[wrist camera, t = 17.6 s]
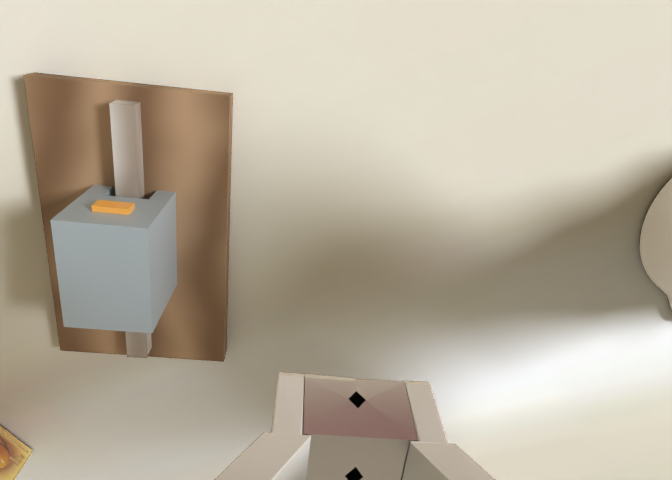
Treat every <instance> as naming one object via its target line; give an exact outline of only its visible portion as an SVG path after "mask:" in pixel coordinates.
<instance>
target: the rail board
mask: <svg viewBox="0 0 672 480" xmlns="http://www.w3.org/2000/svg"><path fill="white" fill-rule="evenodd" d="M23 76H24V83H25V90H26V98H27V105H28V113H29V120H30V128H31V135H32V142H33V150H34V157H35V165H36V172H37V180H38V187H39V195H40V202H41V209H42V217H43V224H44V232H45V239H46V247H47V254H48V262H49V269H50V276H51V284H52V291H53V299H54V306H55V314H56V321H57V328H58V336H59V343H60V350H63V351H78V352H92V353H107V354H122V355H127V357H140V358H147V356H151V357H166V358H180V359H195V360H210V361H224V358H225V354H226V344H227V304H228V265H229V225H230V185H231V145H232V105H233V93H225V92H216V91H206V90H196V89H187V88H177V87H168V86H158V85H149V84H139V83H129V82H120V81H110V80H101V79H91V78H82V77H72V76H62V75H53V74H43V73H31V74H26V75H23ZM93 185H104V186H113V188H114V196H117V197H128V198H139V199H150V198H151V196H152V195H153V194H154V193H155V192H156V191H157V190H158V191H169V192H176V242H177V286H176V288H175V290H174V291H173V293H172V295H171V297H170V299H169V301H168V303H167V305H166V307H165V309H164V311H163V313H162V315H161V317H160V319H159V321H158V323H157V325H156V327H155V329H154V331H153V333H141V332H127V331H113V330H100V329H86V328H72V327H64V325H63V317H62V309H61V301H60V293H59V285H58V277H57V269H56V261H55V253H54V245H53V237H52V229H51V222H50V220H51V219H52V218H53V217H55V216H56V215H57V214H58V213H60V212H61V211H62V210H63V209H65V208H66V207H67V206H68V205H70V204H71V203H72V202H73V201H75V200H76V199H77V198H78V197H79V196H81V195H82V194H83V193H84V192H86V191H87V190H88V189H89V188H91V187H92V186H93Z"/></svg>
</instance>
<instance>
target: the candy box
mask: <svg viewBox="0 0 672 480" xmlns="http://www.w3.org/2000/svg"><path fill="white" fill-rule="evenodd" d="M31 453H32V450H31V449H30V448H29V447H27V446H26V445H25V444H24V443H22V442H21V441H20V440H18V439H17V438H16V437H15V436H13V435H12V434H11V433H10V432H8V431H7V430H6V429H5V428H3V427H2V426H1V425H0V480H14V479H15V478H16V476H17V475H18V473H19V471H20V470H21V468H22V467H23V465H24V464H25V462H26V461H27V459H28V458H29V456H30V455H31Z"/></svg>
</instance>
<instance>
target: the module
mask: <svg viewBox="0 0 672 480" xmlns="http://www.w3.org/2000/svg"><path fill="white" fill-rule="evenodd" d="M50 222H51V229H52V237H53V245H54V253H55V261H56V269H57V277H58V285H59V293H60V301H61V309H62V317H63V325H64V327H72V328H86V329H100V330H113V331H127V332H141V333H153V331H154V329H155V327H156V325H157V323H158V321H159V319H160V317H161V315H162V313H163V311H164V309H165V307H166V305H167V303H168V301H169V299H170V297H171V295H172V293H173V291H174V290H175V288H176V286H177V242H176V192H169V191H158V190H157V191H156V192H155V193H154V194H153V195H152V196H151V198H150V199H139V198H128V197H117V196H114V188H113V186H104V185H93V186H92V187H91V188H89V189H88V190H87V191H86V192H84V193H83V194H82V195H81V196H79V197H78V198H77V199H76V200H75V201H73V202H72V203H71V204H70V205H68V206H67V207H66V208H65V209H63V210H62V211H61V212H60V213H58V214H57V215H56V216H55V217H53V218H52V219H51V220H50Z"/></svg>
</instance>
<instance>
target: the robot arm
mask: <svg viewBox="0 0 672 480" xmlns="http://www.w3.org/2000/svg"><path fill="white" fill-rule="evenodd" d="M640 255H641V260H642V263H643V266H644V269H645V271H646V273H647V274H648V276H649V277H650V279H651V280H652V281H653V282H654V283H655V284H656V285H657V286H658V287H659V288H660V289H661V290H662V291H663V292H664V293H665V294H666V295H667V296H668V299H669V303H670V307H671V310H672V178H671V179H670V180H669V181H668V182H667V184H666V185H665V186H664V187H663V188H662V190H661V191H660V192H659V194H658V195H657V196H656V198H655V200H654V201H653V203H652V205H651V206H650V208H649V210H648V212H647V215H646V217H645V220H644V223H643V226H642V230H641V236H640ZM215 480H495V479H494V478H493V477H492V476H491V475H490V474H489V473H488V472H486V471H485V470H484V469H483V468H482V467H481V466H480V465H479V464H478V463H476V462H475V461H474V460H473V459H472V458H471V457H470V456H469V455H468V454H466V453H465V452H464V451H463V450H462V449H461V448H460V447H459V446H458V445H456V444H450V443H448V441H447V437H446V434H445V431H444V427H443V424H442V421H441V418H440V414H439V411H438V408H437V404H436V401H435V398H434V394H433V391H432V388H431V385H430V384H429V383H428V382H421V381H403V382H402V381H388V380H372V379H355V378H347V377H335V376H324V375H313V374H305V375H304V374H299V373H287V372H279V373H278V376H277V384H276V393H275V402H274V411H273V420H272V429H271V433H262V434H261V435H260V436H259V437H258V438H257V439H256V440H255V441H254V442H253V443H252V444H251V445H250V446H249V447H248V448H247V449H246V450H245V451H244V452H243V453H242V454H241V455H240V456H239V457H238V458H237V459H236V460H235V461H233V462H232V463H231V464H230V465H229V466H228V467H227V468H226V469H225V470H224V471H223V472H222V473H221V474H220V475H219V476H218V477H217V478H216V479H215Z"/></svg>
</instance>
